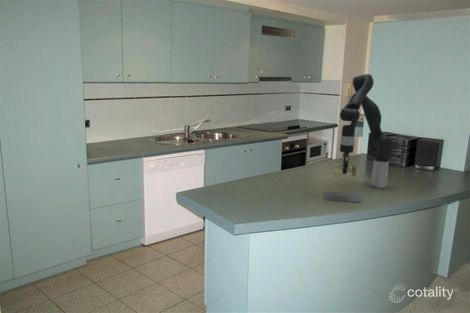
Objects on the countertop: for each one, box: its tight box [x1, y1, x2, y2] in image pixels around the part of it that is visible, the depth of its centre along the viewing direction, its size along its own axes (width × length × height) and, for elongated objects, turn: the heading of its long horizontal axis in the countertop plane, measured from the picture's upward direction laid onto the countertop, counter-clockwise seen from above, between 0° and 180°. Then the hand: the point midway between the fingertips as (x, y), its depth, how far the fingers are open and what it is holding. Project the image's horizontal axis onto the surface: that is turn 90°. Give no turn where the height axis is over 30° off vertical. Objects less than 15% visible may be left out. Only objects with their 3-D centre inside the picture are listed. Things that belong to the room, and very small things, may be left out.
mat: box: [324, 191, 362, 204], centre depth 238 cm, size 20×15×1 cm
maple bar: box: [333, 163, 357, 176], centre depth 235 cm, size 4×12×5 cm, turn 79°
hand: (344, 172), depth 235 cm, fingers closed on maple bar, 4 cm apart
